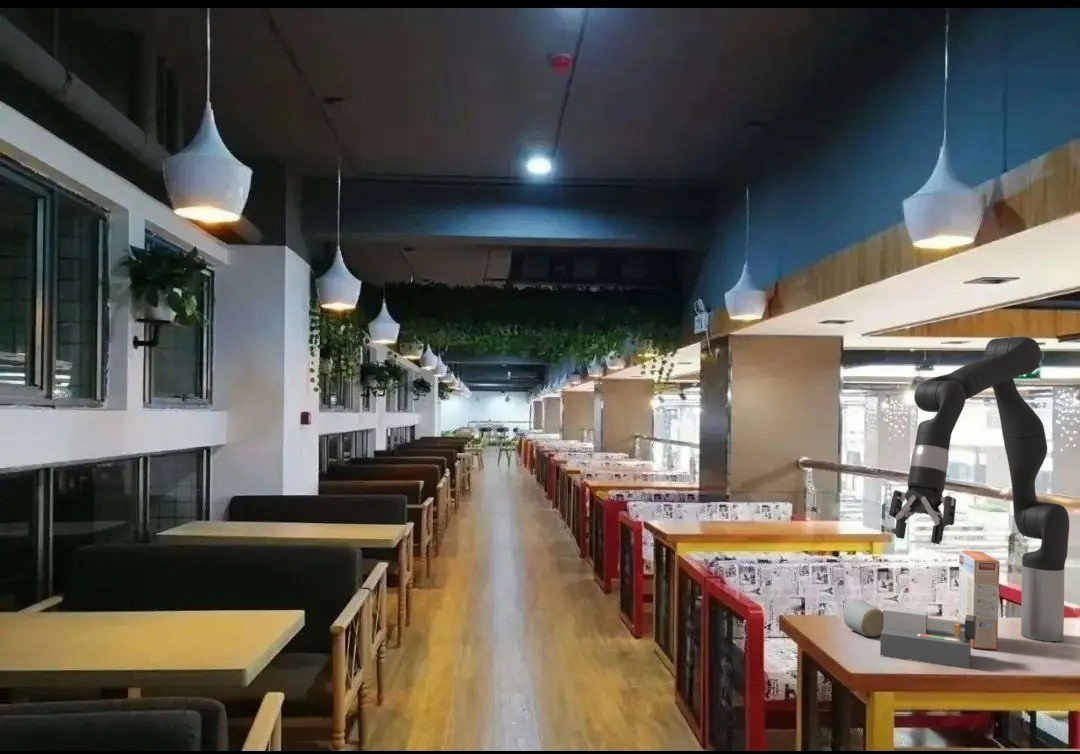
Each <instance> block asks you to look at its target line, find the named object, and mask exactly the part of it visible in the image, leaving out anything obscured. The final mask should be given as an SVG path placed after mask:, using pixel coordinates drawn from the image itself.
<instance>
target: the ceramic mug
mask: <svg viewBox="0 0 1080 754" xmlns="http://www.w3.org/2000/svg"><path fill="white" fill-rule="evenodd" d="M843 621H844V623H845V625H846V627H847V628H849V629H850V630H852V631H854V632H856V633H859V634H861V635H863V636H866V637H868V636H869V637H868V638H876V637H880V636H881V632H882V630H883V626H884V611H882V610H880V609H879V608H878V607H877V606H874V605H872V604H870V603H868V602H866V601H865V600H863V599H855V600H852V601H850V602H849V603H848V604H846V607H845V609H844V613H843Z"/></svg>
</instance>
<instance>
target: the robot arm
mask: <svg viewBox="0 0 1080 754" xmlns="http://www.w3.org/2000/svg"><path fill="white" fill-rule="evenodd" d="M1041 360H1042V351H1041V347H1040V345H1039V343H1038V341H1036V340H1035V339H1034V338H1031V337H1028V336H1011V337H1000V338H993V339H990V340H989V341H988V342H987V343H986V346H985V351H984V359H982V360H977V361H973V362H970V363H969V364H966V365H963V366H961V367H960V368H958V369H955V370H954V371H952V372H950V373H946V374H943V375H939V376H935V377H932V378H929V379H927V380H924V381H923V382H921V383H920V384H919V385H918V386H917V387H916V389H915V392H914V395H913V396H914V402H915V404H916V406H917V407H918V409H920V410H921V411H923V412H926V413H927V412H928V413H936V415H934V417H932V418H931V419H926V420H923V421H921V422H920V423H919V424H918V426H917V430H916V436H915V444H914V449H913V451H912V455H911V460H910V466H909V473H908V478H907V490H906V492H905V491H904V492H903V491H900V490H897V489H895V490H893V493H892V498H891V502H890V506H889V507H890V508H889V511H888V516H890V517H892V518H894V519H895V520H896V523H895V528H894V535H895V537H896V538H898V539H902V540H903V539H905V537H906V529H907V520H908V519H909V518H910V517H911V516H913V515H915V514H921V515H922V514H924V515H927V516H928V515H929V516H930V517H931V519H932V522H933V526H932V533H931V537H930V538H931V539H930V541H931V543H932V544H935V545H939V544H940V543H941V542H942V541H943V539H944V538H943V537H944V530H945V527H947V526H953V525H954V524H955V516H956V503H957V499H956V498H955V497H953V496H950V495H945V496H944V495H943V493H944V491H945V486H946V478H947V472H948V466H949V452H950V445H951V439H952V433H953V431H954V429H955V427H956V425H957V423H958V420H959V418H960V416H961V413H962V411H963V410H964V407H965V405H966V404H965V403H966V400H969V399H971V398H972V397H974V396H977V395H978V394H980V393H982V392H984V391H985V390H987V389H989V388H991V387H992V391H993V393H994V397H995V401H996V405H997V409H998V414H999V415H998V416H999V419H1000V426H1001V432H1002V438H1003V444H1004V449H1005V455H1006V458H1007V464H1008V469H1009V475H1010V482H1011V492H1012V493H1011V494H1012V507H1013V518H1014V523H1015V525H1016V528H1017V530H1018V532H1019V534H1020V535H1022V536H1024V537H1026V538H1030V539H1031V538H1032V539H1036V540H1037V539H1038V540H1041V543H1040V548H1038V549H1036V550H1035V551H1030V552H1029V551H1028V552H1024V554H1023V555H1022V556H1021V557H1022V558H1021V608H1020V609H1021V616H1020V617H1021V619H1020V620H1021V622H1020V623H1021V624H1020V625H1021V628H1020V635H1021V636H1023V637H1024V636H1025V638H1028V639H1031V638H1032V640H1035V639H1037V640H1036V641H1041V640H1044V641H1043V642H1051V641H1056V642H1061V641H1062V642H1063V641H1064V636H1065V634H1064V632H1065V631H1064V629H1065V627H1064V626H1065V570H1066V568H1065V565H1066V560H1067V557H1068V553H1069V552H1068V547H1069V536H1070V517H1069V513H1068V510H1067V509H1066V508H1065V507H1064V506H1063V505H1062V504H1059V503H1053V502H1046V501H1038V498H1037V495H1036V494H1037V493H1036V479H1037V476H1038V473H1039V471H1040V469H1041V468H1042V466H1043V464H1044V463H1045V462H1044V461H1045V460H1046V457H1047V453H1048V444H1047V443H1048V442H1047V437H1046V431H1045V426H1044V424H1043V422H1042V419H1041V418H1040V417H1039V415H1038V414H1037V413H1036V412H1035V410H1034V409H1033V408H1032V407H1031V406H1030V405H1029V404H1028V403H1027V401H1026V400H1025V399H1024V398H1023V397H1022V396H1021V394H1020V392H1019V390H1018V389H1017V386H1016V384H1015V383H1016V382H1015V380H1014V378H1016V377H1019V376H1023V375H1028V374H1029V375H1030V374H1032V373H1034V372H1035V371H1036V370H1037V369H1038V367H1039V366H1040V364H1041ZM905 501H906V502H905ZM904 502H905V503H904ZM903 503H904V505H903ZM941 505H942V506H943V512H942V511H941V509H940V508H939V507H940V506H941Z"/></svg>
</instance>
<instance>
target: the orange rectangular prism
mask: <svg viewBox="0 0 1080 754" xmlns="http://www.w3.org/2000/svg"><path fill="white" fill-rule="evenodd" d="M955 638H956V639H959V624H955Z"/></svg>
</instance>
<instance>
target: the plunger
mask: <svg viewBox="0 0 1080 754" xmlns="http://www.w3.org/2000/svg"><path fill="white" fill-rule="evenodd" d="M955 624H959V633H960V640H964V641H965V639H973V640H975V635H976V616H973V615H966V618H965V622H959V621H958V620H949V619H940V618H934V617H933V618H932V617H928V618H926V628H928V629H936V630H944V631H952V632H955Z"/></svg>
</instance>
